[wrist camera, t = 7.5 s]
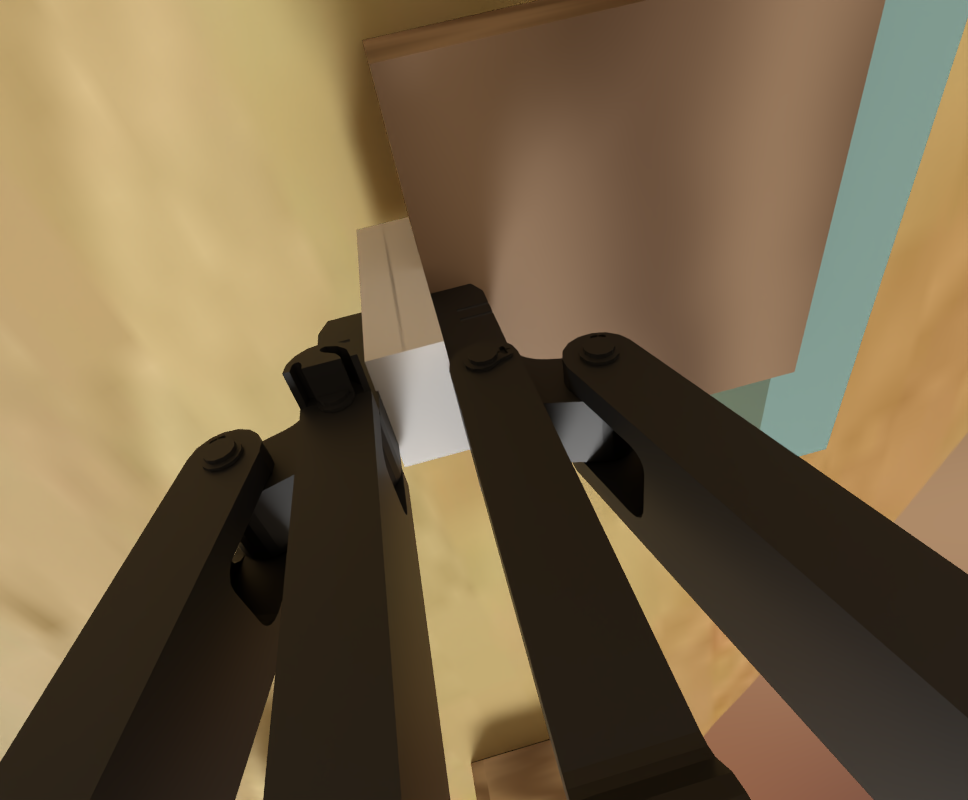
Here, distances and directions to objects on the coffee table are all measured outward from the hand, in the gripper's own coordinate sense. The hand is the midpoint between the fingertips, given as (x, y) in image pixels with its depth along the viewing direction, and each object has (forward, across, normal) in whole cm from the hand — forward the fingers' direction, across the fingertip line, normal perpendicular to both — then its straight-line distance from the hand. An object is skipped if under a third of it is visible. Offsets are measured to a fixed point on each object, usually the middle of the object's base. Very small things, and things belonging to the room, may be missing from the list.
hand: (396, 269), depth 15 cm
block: (+2, +6, 0) cm, 6 cm away
